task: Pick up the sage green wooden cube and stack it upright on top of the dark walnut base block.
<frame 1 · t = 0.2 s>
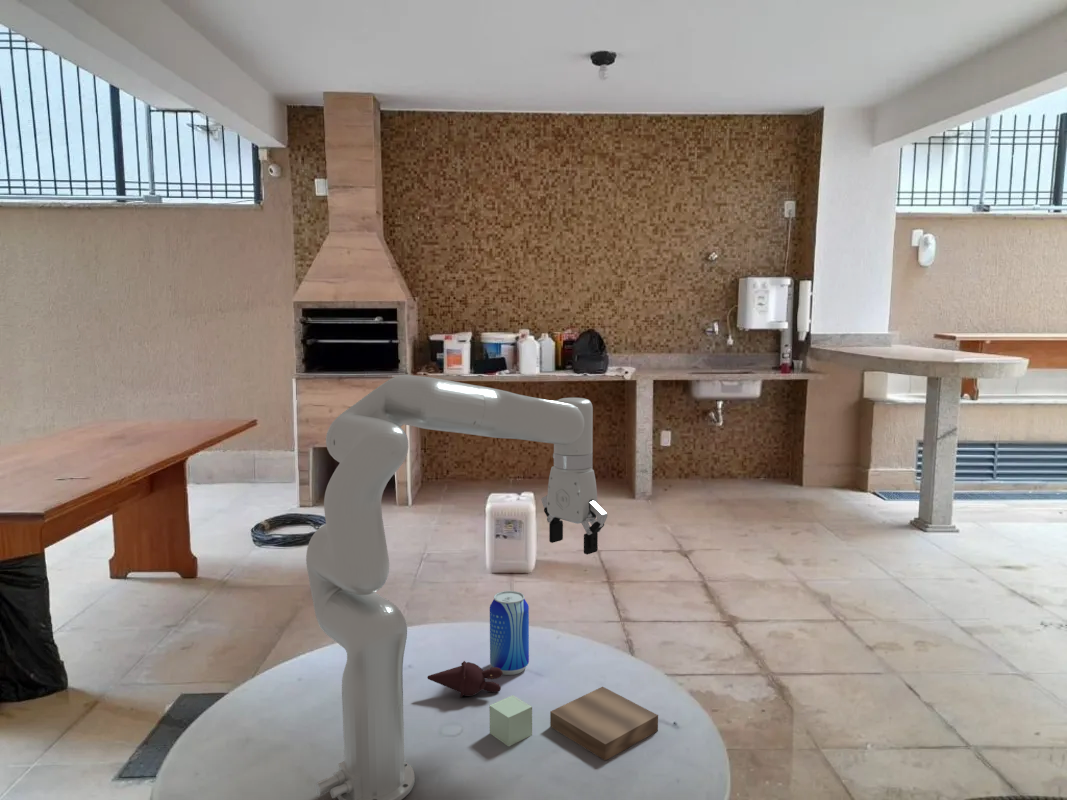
hand: (572, 546, 145), 31 cm above the table, tool pointing down, fingers open, 9 cm apart
walnut base: (603, 728, 135), on the table
sage cube: (510, 734, 134), on the table
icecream: (465, 695, 148), on the table
beer can: (509, 668, 159), on the table
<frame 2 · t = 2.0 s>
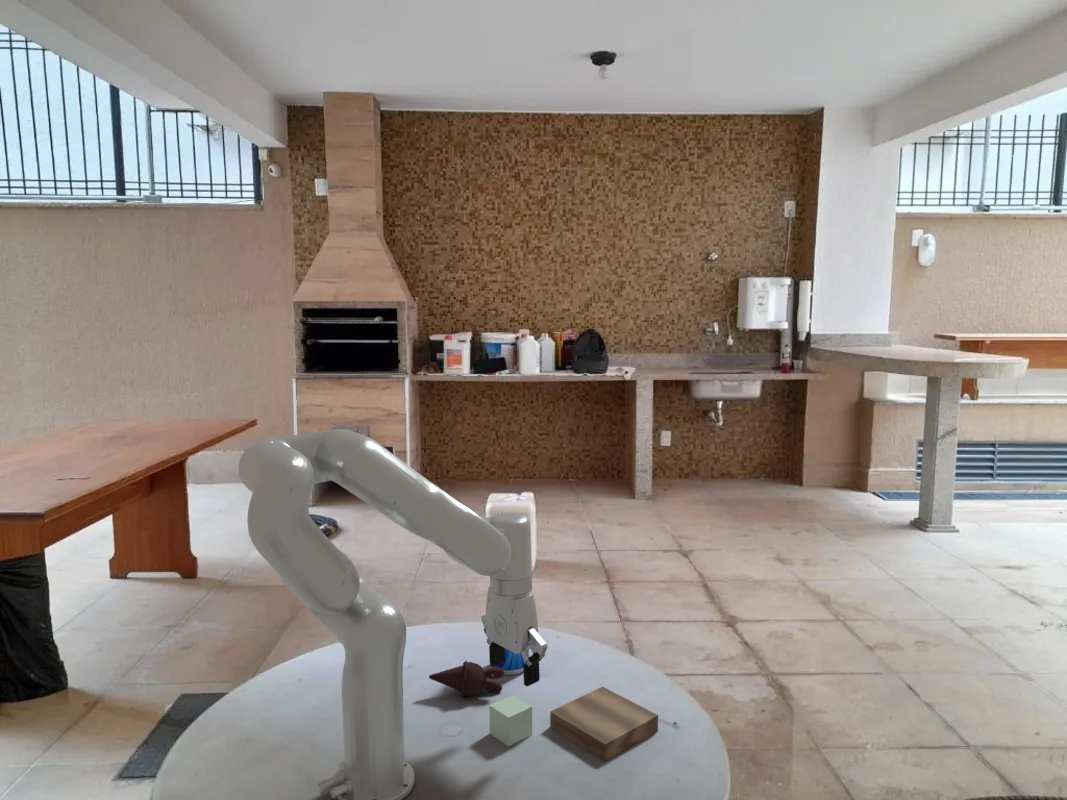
hand: (514, 673, 133), 11 cm above the table, tool pointing down, fingers open, 9 cm apart
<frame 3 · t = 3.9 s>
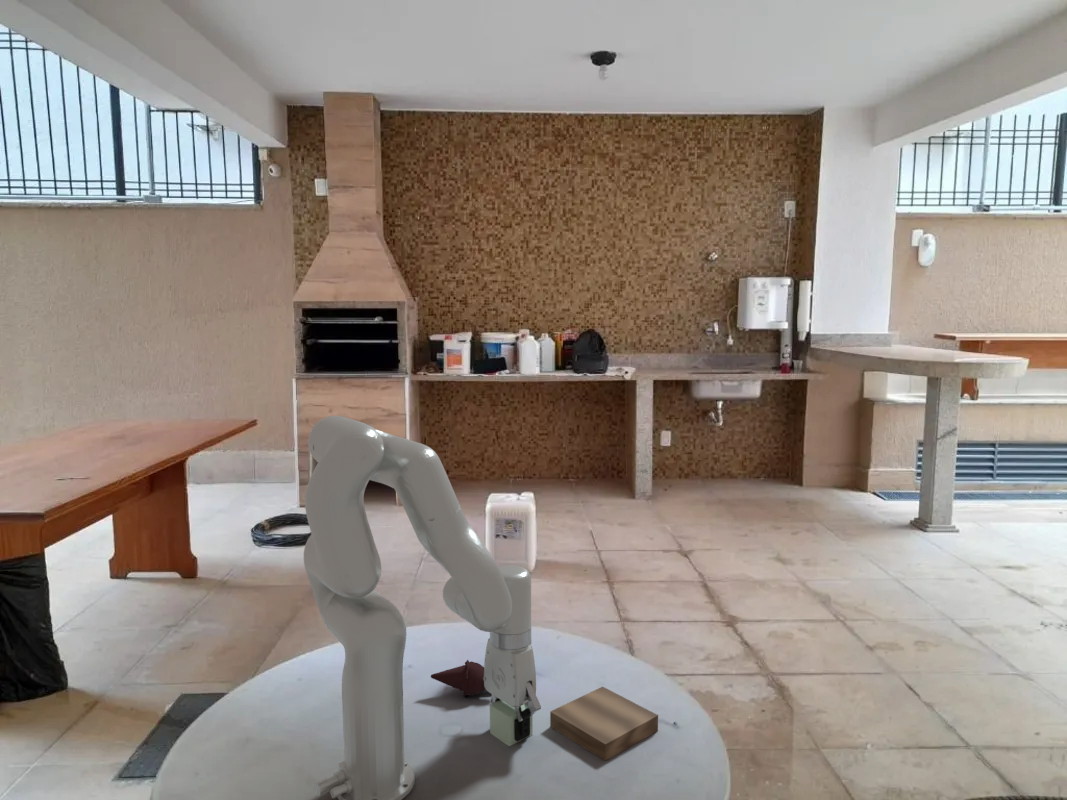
hand: (511, 729, 134), 1 cm above the table, tool pointing down, fingers closed on sage cube, 5 cm apart
sage cube: (511, 733, 134), on the table, touching gripper
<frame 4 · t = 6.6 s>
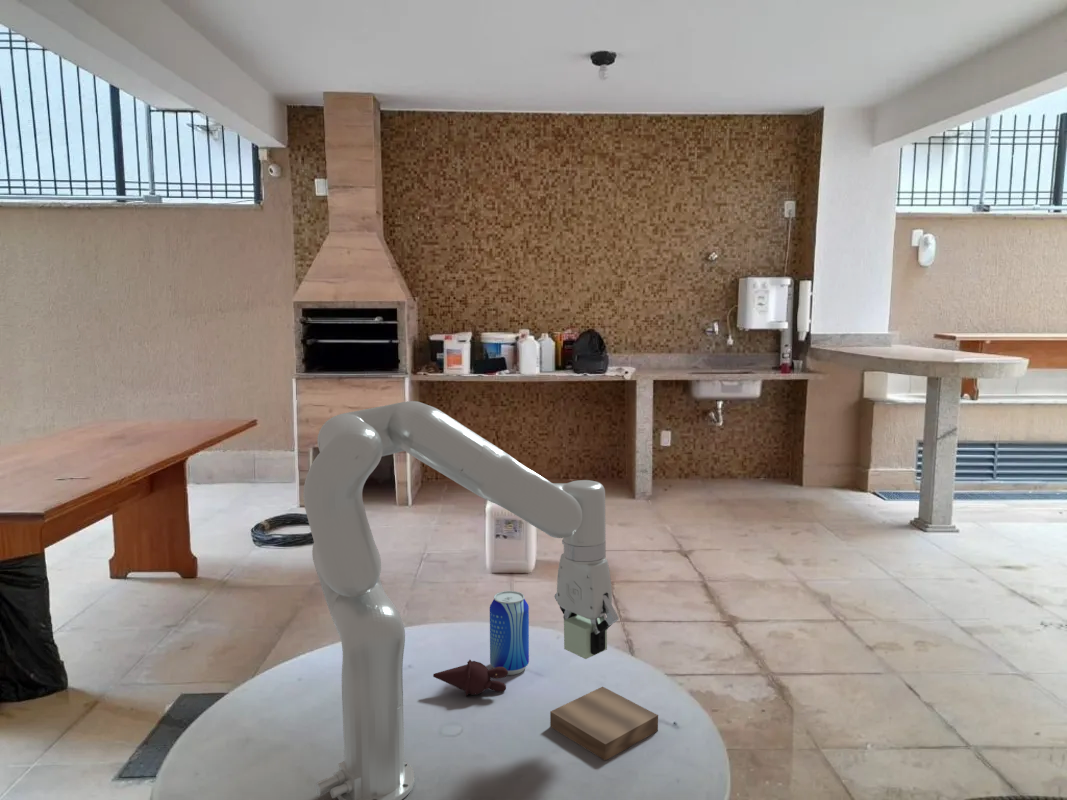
hand: (585, 645, 134), 16 cm above the table, tool pointing down, fingers closed on sage cube, 5 cm apart
sage cube: (585, 649, 134), point 15 cm above the table, touching gripper
when the fingers open (5 cm above the table, at t = 9.7 s): sage cube drops 1 cm, resting on walnut base.
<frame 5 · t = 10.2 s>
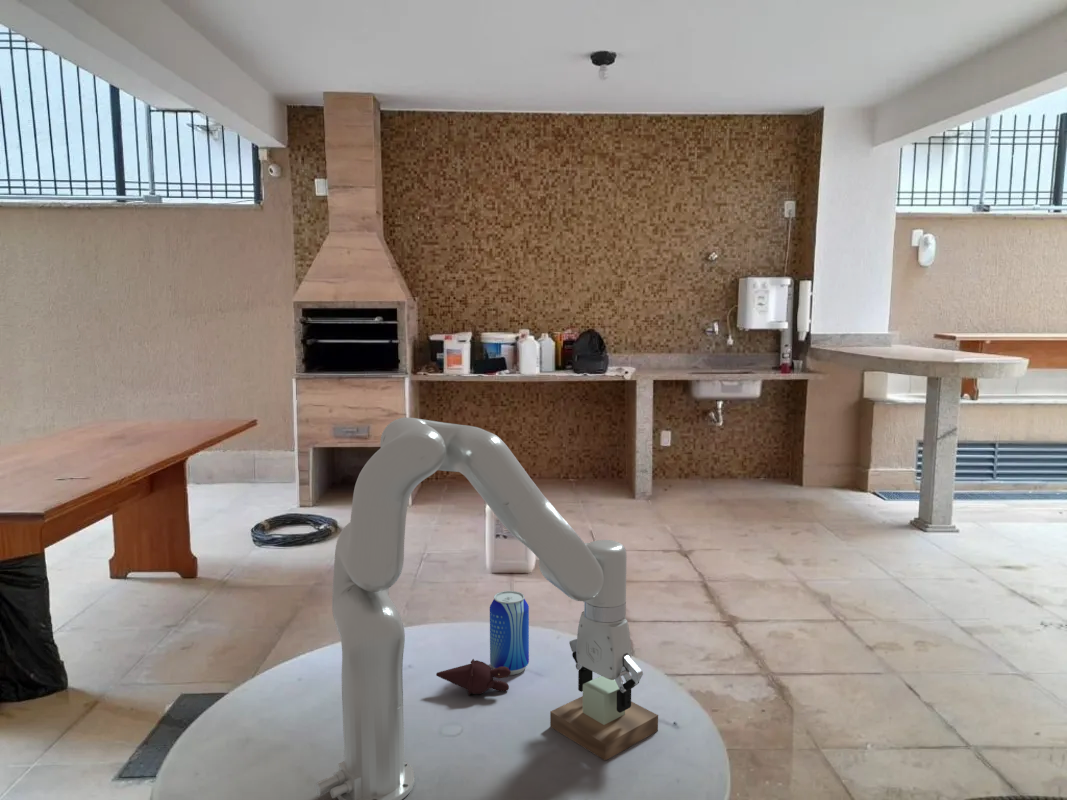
hand: (604, 698, 135), 6 cm above the table, tool pointing down, fingers open, 9 cm apart
sage cube: (603, 713, 135), point 3 cm above the table, touching walnut base
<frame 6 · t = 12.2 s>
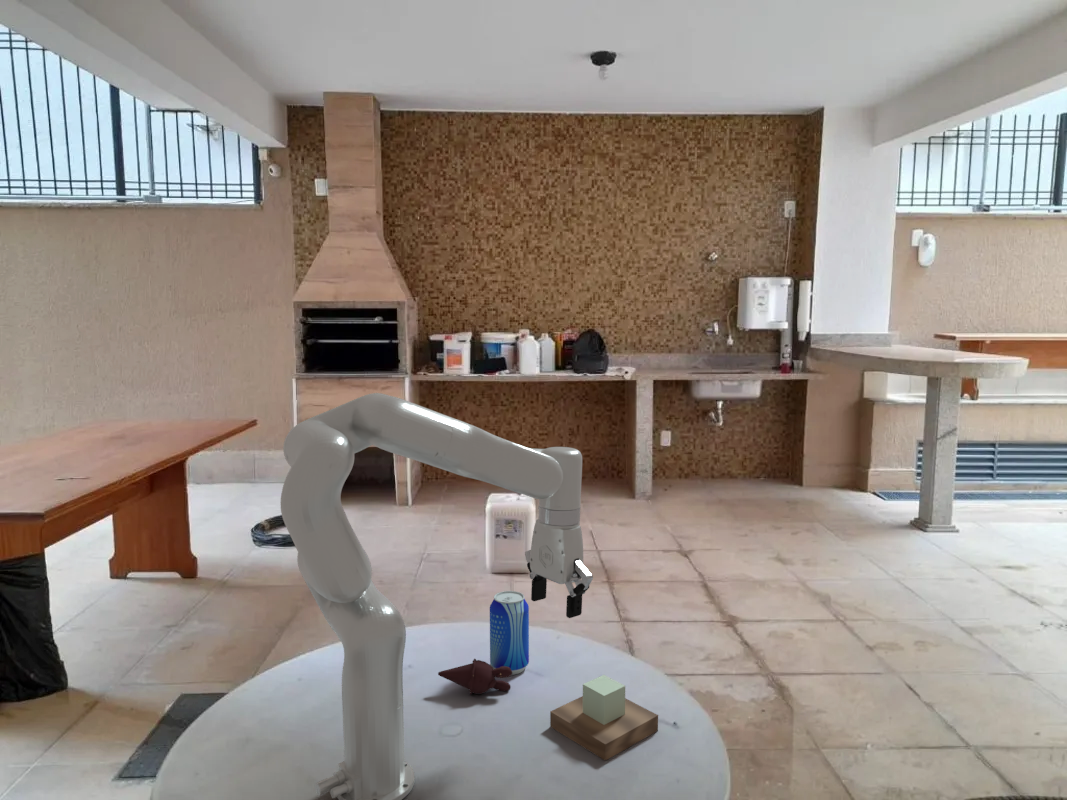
hand: (555, 607, 134), 23 cm above the table, tool pointing down, fingers open, 9 cm apart
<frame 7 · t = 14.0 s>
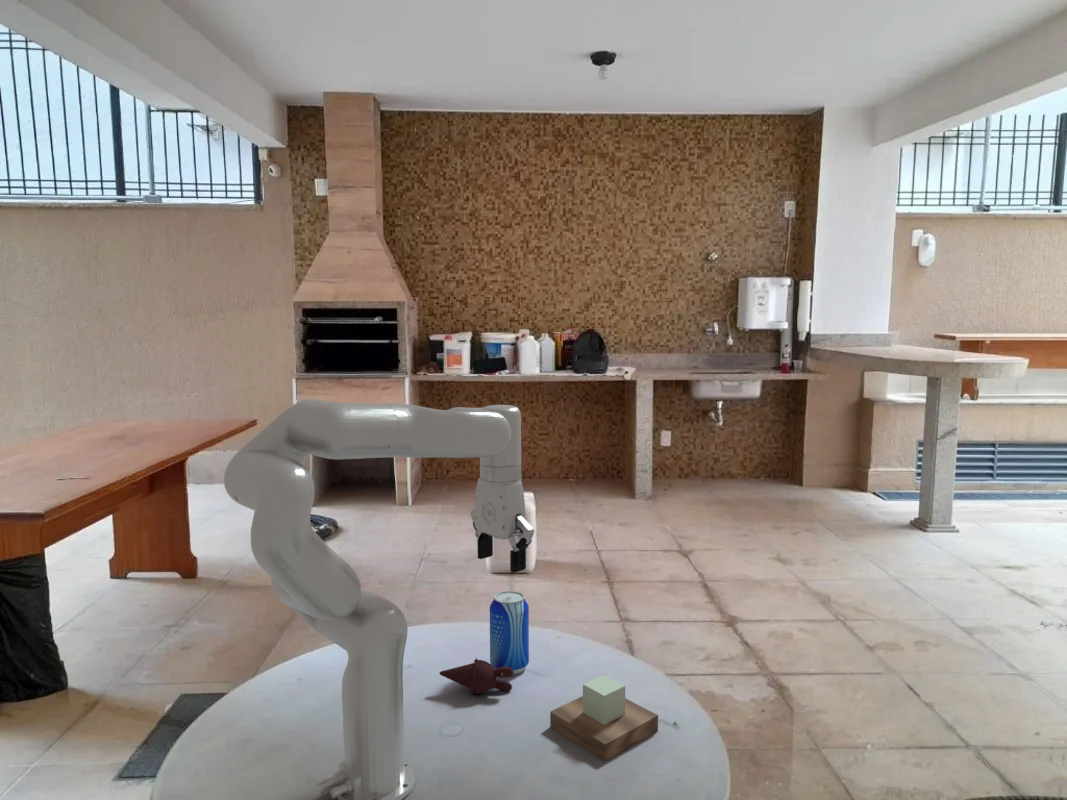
hand: (501, 563, 135), 30 cm above the table, tool pointing down, fingers open, 9 cm apart
at the end: sage cube inside the target area on the walnut base (0.0 cm from its centre), point 3.0 cm above the walnut base's base; sage cube tilted 0°; the gripper is holding nothing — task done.
